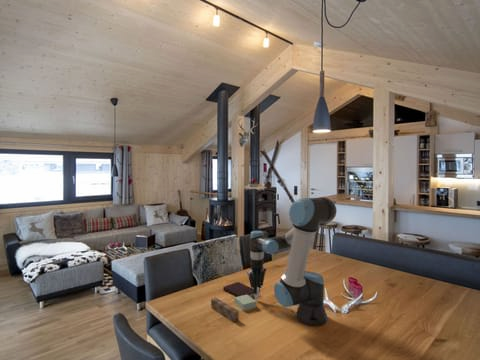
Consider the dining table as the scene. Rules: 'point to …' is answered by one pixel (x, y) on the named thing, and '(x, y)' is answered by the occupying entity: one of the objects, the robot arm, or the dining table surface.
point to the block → (245, 302)
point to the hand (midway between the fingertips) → (256, 298)
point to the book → (239, 289)
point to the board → (225, 309)
